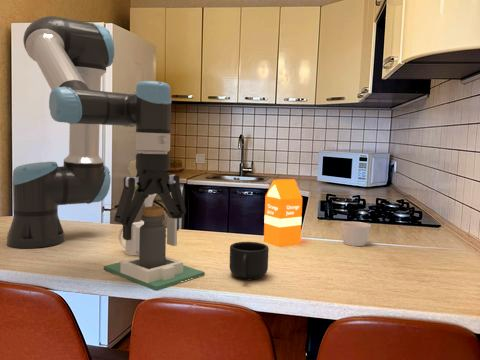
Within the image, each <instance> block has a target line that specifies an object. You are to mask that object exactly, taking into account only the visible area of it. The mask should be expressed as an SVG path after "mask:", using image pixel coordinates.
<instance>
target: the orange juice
mask: <svg viewBox="0 0 480 360" xmlns="http://www.w3.org/2000/svg"><path fill="white" fill-rule="evenodd" d="M264 197H265V198H264V199H265V200H264V202H265V203H264V217H263V219H264V221H263V222H264V226H263V242H264V243H267V244H270V245H272V246H276V247H278V248H279V247H280V248H281V247H286V246H287V247H288V246H292V245H293V246H294V245H300V244H301V237H302V236H301V235H302V234H301V233H302V219H303V217H302V213H303V196H302V194H301V192H300V189H299V187H298V183H297V182H296V179H295V178H288V179H287V178H286V179H285V178H284V179H273V180H272V182H271V185H270V186H269V188H268V189H267V192H266V194H265V196H264Z"/></svg>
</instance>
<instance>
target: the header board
mask: <svg viewBox="0 0 480 360" xmlns="http://www.w3.org/2000/svg"><path fill="white" fill-rule="evenodd" d="M103 270H105V271H106V272H109V273H112V274H114V275H117V276H119V277H121V278H124V279H127V280H129V281H132V282H135V283H137V284H139V285H142V286H144V287H146V288H150V289H152V290H154V291H159V290H163V289H165V288H168V286H169V287H171V286H170V285H172V286H174V285H173V284H175V285H177V284H176V283H179V282H181V281H185V280H188V279H191V278H195V277H198V278H200V277H199V276H201V277H204V276H205V271H202V270H199V269H196V268H194V267H190V266H187V265H184V262H183V261H179V260H177V259H174V258H171V257H168V256H165V265H163V266H160V267H156V268H152V269H146V268H144V267H141V266H139V257H136V258H131V259H127V260H124V261H123V260H122V261H120V262H115V263H111V264H106V265H103ZM203 275H204V276H203ZM195 279H196V278H195ZM191 280H192V279H191ZM188 281H189V280H188ZM185 282H186V281H185ZM179 284H180V283H179Z"/></svg>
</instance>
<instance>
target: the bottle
mask: <svg viewBox="0 0 480 360" xmlns="http://www.w3.org/2000/svg"><path fill="white" fill-rule="evenodd" d="M141 208H142V213H143V215H142V214H141V220H142V221H144V225H142V226H141V227H140V240H139V255H138V256H139V257H138V258H139V266H141V267H144V268H146V269H152V268H156V267H160V266H163V265H165V257H166V254H167V253H166V251H167V250H166V247H167V246H166V245H167V226H165V225H164V224H162V223H163V222H164V221H165V215H164V209H165V208H164V207H162V206H155V205H154V206H153V205H152V206H151V207H145V206H144V207H141ZM141 220H140V221H141Z"/></svg>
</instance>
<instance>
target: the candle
mask: <svg viewBox="0 0 480 360" xmlns="http://www.w3.org/2000/svg"><path fill="white" fill-rule="evenodd" d="M371 226H372V225H371V224H370V223H366V222H361V221H342V222H341V232H342V241H343V243H344V244H345V245H347V246H351V247H352V246H353V247H364V246H366V245H367V244H368V239H369V235H370V232H371Z"/></svg>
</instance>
